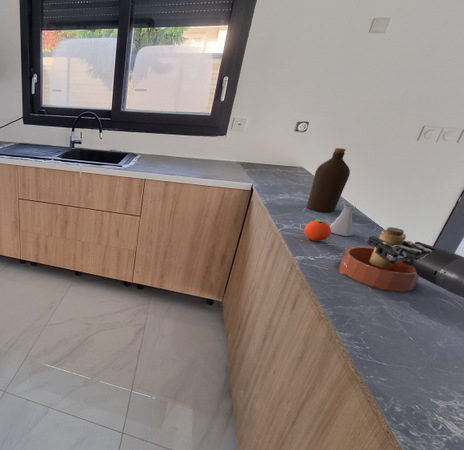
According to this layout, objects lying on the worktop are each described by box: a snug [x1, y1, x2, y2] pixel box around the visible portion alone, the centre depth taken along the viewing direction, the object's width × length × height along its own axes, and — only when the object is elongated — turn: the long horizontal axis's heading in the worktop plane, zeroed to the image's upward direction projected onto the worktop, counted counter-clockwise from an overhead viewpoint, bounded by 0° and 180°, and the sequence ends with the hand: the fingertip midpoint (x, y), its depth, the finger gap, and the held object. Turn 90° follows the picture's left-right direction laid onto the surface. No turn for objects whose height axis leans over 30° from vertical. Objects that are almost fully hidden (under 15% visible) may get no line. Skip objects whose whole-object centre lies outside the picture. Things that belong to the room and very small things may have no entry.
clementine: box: [303, 219, 332, 242], centre depth 104 cm, size 8×7×7 cm
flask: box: [329, 203, 357, 237], centre depth 108 cm, size 7×7×10 cm
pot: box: [338, 245, 421, 292], centre depth 83 cm, size 15×15×6 cm
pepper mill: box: [369, 226, 407, 268], centre depth 80 cm, size 4×4×10 cm
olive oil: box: [306, 147, 351, 213], centre depth 126 cm, size 11×11×25 cm
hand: (379, 239), depth 82 cm, fingers closed on pepper mill, 4 cm apart
